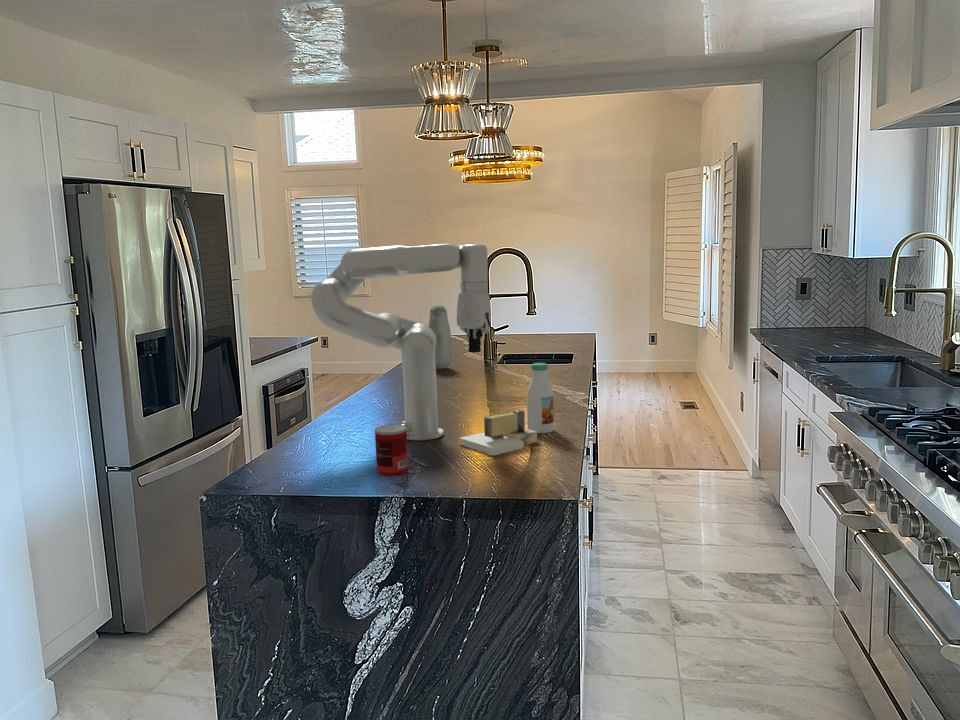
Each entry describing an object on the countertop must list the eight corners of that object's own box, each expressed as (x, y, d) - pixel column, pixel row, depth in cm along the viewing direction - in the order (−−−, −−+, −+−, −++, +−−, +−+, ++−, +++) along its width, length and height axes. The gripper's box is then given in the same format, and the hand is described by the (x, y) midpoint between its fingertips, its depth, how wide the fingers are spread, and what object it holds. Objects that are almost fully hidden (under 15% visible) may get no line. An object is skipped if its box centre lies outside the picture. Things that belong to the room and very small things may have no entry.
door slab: (493, 455, 208) (492, 426, 207) (459, 444, 220) (458, 416, 219) (523, 448, 214) (523, 419, 213) (489, 438, 226) (488, 410, 225)
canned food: (408, 466, 201) (407, 423, 199) (407, 475, 193) (405, 431, 191) (378, 467, 201) (376, 425, 199) (375, 476, 193) (373, 432, 191)
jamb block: (517, 446, 216) (517, 436, 216) (501, 441, 222) (501, 431, 221) (537, 442, 221) (536, 431, 220) (520, 437, 226) (520, 427, 226)
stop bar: (520, 428, 223) (519, 409, 222) (527, 430, 220) (526, 411, 219) (483, 435, 216) (482, 416, 215) (490, 438, 213) (489, 418, 212)
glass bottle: (426, 368, 350) (423, 304, 345) (448, 366, 353) (446, 303, 348) (431, 371, 340) (429, 306, 336) (454, 369, 343) (452, 305, 339)
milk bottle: (532, 435, 228) (531, 366, 225) (524, 429, 236) (522, 362, 233) (557, 432, 230) (556, 364, 227) (548, 426, 238) (547, 360, 235)
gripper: (446, 287, 228) (447, 350, 231) (483, 289, 217) (483, 356, 220) (465, 286, 233) (466, 348, 236) (502, 288, 222) (502, 353, 225)
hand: (474, 351), depth 228 cm, fingers closed
